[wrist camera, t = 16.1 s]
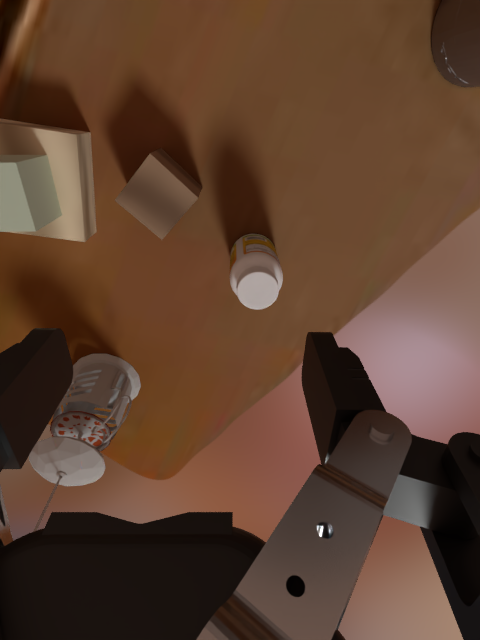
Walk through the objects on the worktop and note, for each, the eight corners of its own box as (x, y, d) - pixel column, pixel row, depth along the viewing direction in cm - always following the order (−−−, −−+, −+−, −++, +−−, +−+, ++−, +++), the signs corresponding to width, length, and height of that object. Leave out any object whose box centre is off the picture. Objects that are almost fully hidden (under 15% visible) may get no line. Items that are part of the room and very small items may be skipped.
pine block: (91, 132, 36) (76, 134, 32) (97, 230, 41) (84, 241, 37) (-14, 115, 35) (-42, 116, 31) (5, 218, 40) (-17, 228, 36)
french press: (55, 374, 50) (-79, 571, 29) (116, 335, 47) (17, 524, 26) (105, 415, 55) (21, 615, 33) (164, 382, 51) (114, 579, 30)
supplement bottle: (248, 284, 44) (251, 326, 35) (220, 251, 42) (217, 287, 33) (285, 259, 42) (297, 296, 34) (258, 222, 40) (264, 252, 32)
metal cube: (161, 147, 36) (150, 153, 31) (202, 186, 38) (198, 198, 33) (129, 189, 38) (114, 200, 33) (170, 224, 40) (162, 239, 35)
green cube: (47, 154, 33) (15, 162, 28) (62, 215, 36) (35, 231, 31) (-14, 154, 33) (-55, 162, 28) (6, 215, 36) (-29, 231, 31)
